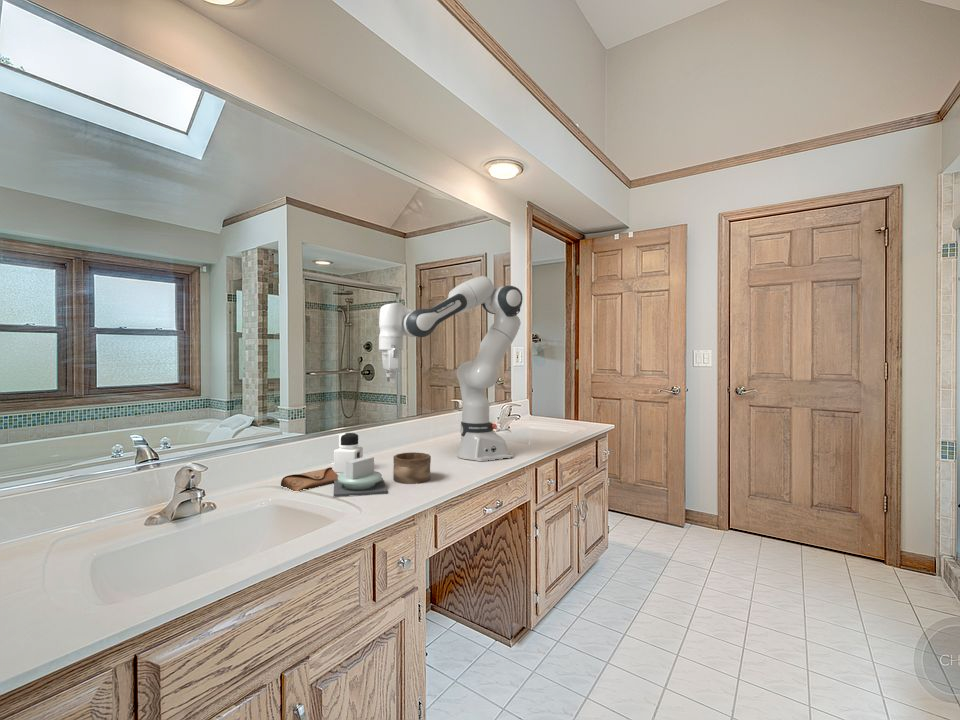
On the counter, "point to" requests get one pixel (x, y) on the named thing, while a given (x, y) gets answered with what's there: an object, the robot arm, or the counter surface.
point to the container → (346, 451)
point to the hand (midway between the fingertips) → (390, 382)
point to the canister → (411, 468)
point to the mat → (342, 491)
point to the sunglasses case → (309, 479)
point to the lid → (360, 474)
